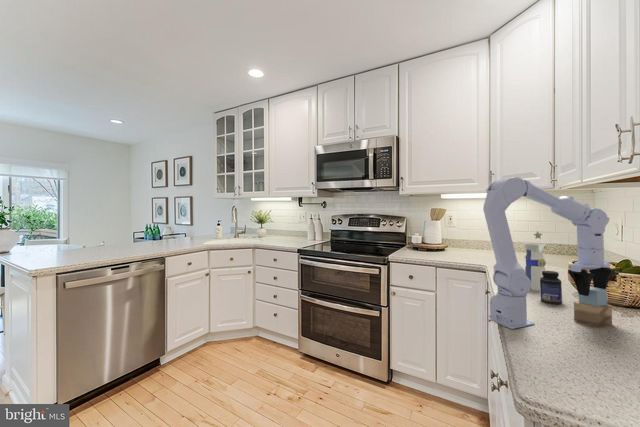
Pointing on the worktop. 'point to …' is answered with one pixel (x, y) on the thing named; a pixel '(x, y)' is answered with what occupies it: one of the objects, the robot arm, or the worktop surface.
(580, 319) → the slab lower
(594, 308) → the slab upper
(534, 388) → the worktop surface
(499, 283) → the robot arm
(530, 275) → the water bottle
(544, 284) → the pill bottle
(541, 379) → the worktop surface
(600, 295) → the cube
